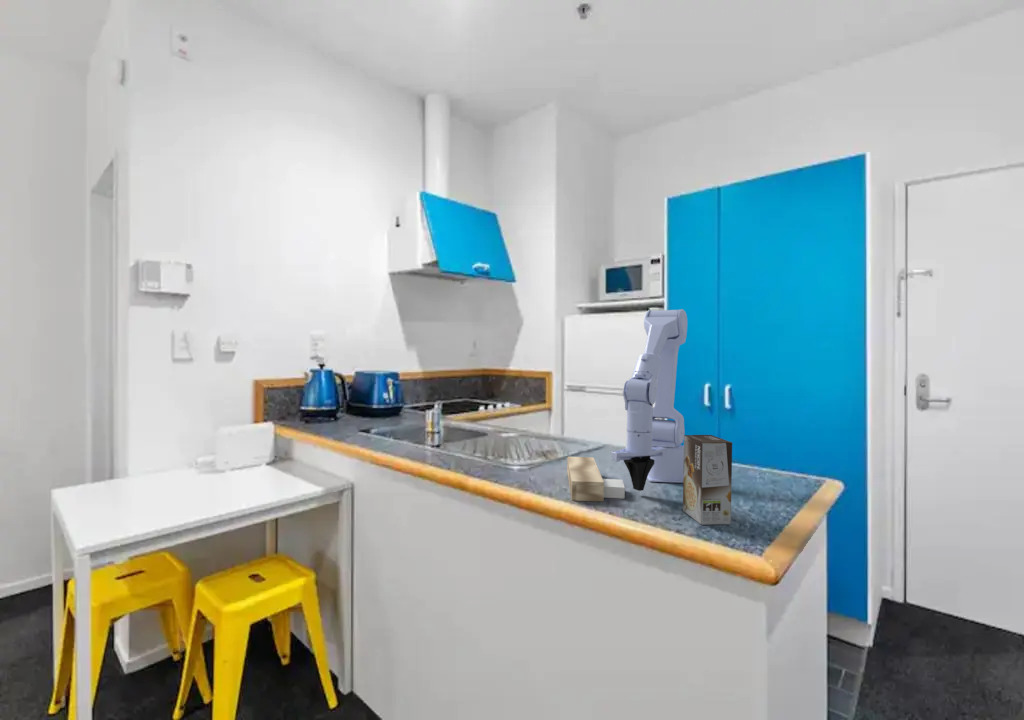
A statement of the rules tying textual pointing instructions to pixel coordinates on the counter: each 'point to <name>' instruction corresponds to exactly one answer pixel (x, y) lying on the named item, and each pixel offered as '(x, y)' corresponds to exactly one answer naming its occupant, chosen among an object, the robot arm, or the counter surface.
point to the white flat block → (614, 488)
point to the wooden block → (584, 479)
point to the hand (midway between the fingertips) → (638, 489)
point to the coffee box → (707, 479)
